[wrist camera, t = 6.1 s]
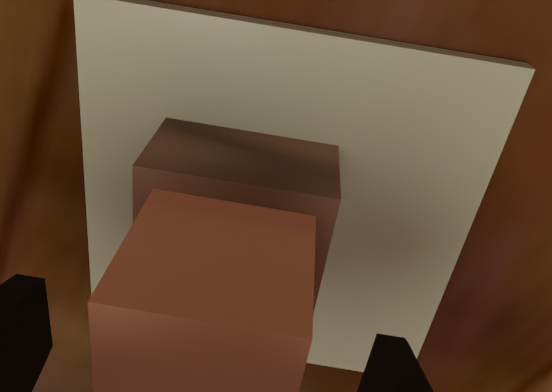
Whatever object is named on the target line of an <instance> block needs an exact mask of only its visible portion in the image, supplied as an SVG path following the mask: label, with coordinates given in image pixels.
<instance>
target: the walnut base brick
mask: <svg viewBox="0 0 552 392" xmlns="http://www.w3.org/2000/svg"><path fill="white" fill-rule="evenodd" d="M153 189H158V190H164V191H170V192H176V193H182V194H188V195H194V196H200V197H206V198H212V199H218V200H224V201H230V202H236V203H242V204H248V205H253V206H259V207H265V208H271V209H277V210H283V211H289V212H295V213H301V214H307V215H313V216H316V236H315V269H314V302H313V313H314V309H315V305H316V301H317V297H318V293H319V289H320V285H321V280H322V276H323V272H324V268H325V264H326V260H327V256H328V252H329V247H330V243H331V239H332V235H333V231H334V227H335V223H336V219H337V215H338V210H339V206H340V202H341V188H340V167H339V146H337V145H331V144H325V143H319V142H312V141H306V140H300V139H294V138H288V137H282V136H276V135H270V134H264V133H258V132H252V131H246V130H240V129H233V128H227V127H221V126H215V125H209V124H203V123H197V122H191V121H185V120H179V119H173V118H167V117H166V118H165V120H164V121H163V123H162V124H161V125H160V127H159V128H158V130H157V131H156V132H155V134H154V135H153V137H152V138H151V140H150V141H149V142H148V144H147V145H146V147H145V148H144V150H143V151H142V152H141V154H140V155H139V157H138V158H137V160H136V161H135V162H134V164H133V165H132V195H133V222H134V221H135V219H136V217H137V216H138V214H139V212H140V210H141V209H142V207H143V205H144V203H145V202H146V200H147V198H148V196H149V195H150V193H151V191H152V190H153Z"/></svg>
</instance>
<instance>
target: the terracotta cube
mask: <svg viewBox="0 0 552 392" xmlns="http://www.w3.org/2000/svg"><path fill="white" fill-rule="evenodd" d="M315 236H316V216H313V215H307V214H301V213H295V212H289V211H283V210H277V209H271V208H265V207H259V206H253V205H248V204H242V203H236V202H230V201H224V200H218V199H212V198H206V197H200V196H194V195H188V194H182V193H176V192H170V191H164V190H158V189H153V190H152V191H151V193H150V195H149V196H148V198H147V200H146V202H145V203H144V205H143V207H142V209H141V210H140V212H139V214H138V216H137V217H136V219H135V221H134V222H133V224H132V226H131V228H130V229H129V231H128V233H127V235H126V236H125V238H124V240H123V241H122V243H121V245H120V247H119V248H118V250H117V252H116V254H115V255H114V257H113V259H112V260H111V262H110V264H109V266H108V267H107V269H106V271H105V273H104V274H103V276H102V278H101V280H100V281H99V283H98V285H97V286H96V288H95V290H94V292H93V293H92V295H91V297H90V299H89V300H88V317H89V334H90V350H91V367H92V383H93V392H299V390H300V386H301V382H302V378H303V374H304V370H305V366H306V362H307V358H308V354H309V351H310V347H311V343H312V334H313V302H314V269H315Z"/></svg>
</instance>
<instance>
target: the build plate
mask: <svg viewBox="0 0 552 392" xmlns="http://www.w3.org/2000/svg"><path fill="white" fill-rule="evenodd" d="M74 15H75V32H76V48H77V65H78V81H79V98H80V114H81V131H82V147H83V164H84V180H85V197H86V214H87V230H88V247H89V263H90V280H91V295H92V293H93V292H94V290H95V288H96V286H97V285H98V283H99V281H100V280H101V278H102V276H103V274H104V273H105V271H106V269H107V267H108V266H109V264H110V262H111V260H112V259H113V257H114V255H115V254H116V252H117V250H118V248H119V247H120V245H121V243H122V241H123V240H124V238H125V236H126V235H127V233H128V231H129V229H130V228H131V226H132V224H133V195H132V165H133V164H134V162H135V161H136V160H137V158H138V157H139V155H140V154H141V152H142V151H143V150H144V148H145V147H146V145H147V144H148V142H149V141H150V140H151V138H152V137H153V135H154V134H155V132H156V131H157V130H158V128H159V127H160V125H161V124H162V123H163V121H164V120H165V118H166V117H167V118H173V119H179V120H185V121H191V122H197V123H203V124H209V125H215V126H221V127H227V128H233V129H240V130H246V131H252V132H258V133H264V134H270V135H276V136H282V137H288V138H294V139H300V140H306V141H312V142H319V143H325V144H331V145H337V146H339V167H340V188H341V202H340V206H339V210H338V215H337V219H336V223H335V227H334V231H333V235H332V239H331V243H330V247H329V252H328V256H327V260H326V264H325V268H324V272H323V276H322V280H321V285H320V289H319V293H318V297H317V301H316V305H315V309H314V313H313V334H312V343H311V347H310V351H309V354H308V358H307V362H306V363H311V364H317V365H323V366H329V367H336V368H342V369H348V370H354V371H360V372H364V370H365V367H366V364H367V361H368V358H369V355H370V352H371V349H372V346H373V343H374V340H375V337H376V334H377V333H378V334H384V335H391V336H397V337H403V338H406V340H407V341H408V343H409V345H410V347H411V349H412V351H413V353H414V355H415V357H416V359H417V357H418V354H419V352H420V350H421V347H422V345H423V342H424V340H425V337H426V335H427V332H428V330H429V328H430V325H431V323H432V320H433V318H434V315H435V313H436V311H437V308H438V306H439V303H440V301H441V298H442V296H443V293H444V291H445V289H446V286H447V284H448V281H449V279H450V276H451V274H452V272H453V269H454V267H455V264H456V262H457V259H458V257H459V254H460V252H461V250H462V247H463V245H464V242H465V240H466V237H467V235H468V232H469V230H470V228H471V225H472V223H473V220H474V218H475V215H476V213H477V211H478V208H479V206H480V203H481V201H482V198H483V196H484V193H485V191H486V189H487V186H488V184H489V181H490V179H491V176H492V174H493V172H494V169H495V167H496V164H497V162H498V159H499V157H500V154H501V152H502V150H503V147H504V145H505V142H506V140H507V137H508V135H509V133H510V130H511V128H512V125H513V123H514V120H515V118H516V115H517V113H518V111H519V108H520V106H521V103H522V101H523V98H524V96H525V93H526V91H527V89H528V86H529V84H530V81H531V79H532V76H533V74H534V72H535V69H534V68H533V67H532V66H531V65H530V64H528V63H526V62H520V61H514V60H508V59H502V58H496V57H490V56H484V55H478V54H471V53H465V52H459V51H453V50H447V49H441V48H435V47H429V46H423V45H417V44H411V43H405V42H399V41H393V40H386V39H380V38H374V37H368V36H362V35H356V34H350V33H344V32H338V31H332V30H326V29H320V28H314V27H308V26H301V25H295V24H289V23H283V22H277V21H271V20H265V19H259V18H253V17H247V16H241V15H235V14H229V13H223V12H216V11H210V10H204V9H198V8H192V7H186V6H180V5H174V4H168V3H162V2H156V1H150V0H74Z"/></svg>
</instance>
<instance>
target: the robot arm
mask: <svg viewBox="0 0 552 392" xmlns="http://www.w3.org/2000/svg"><path fill="white" fill-rule="evenodd" d="M52 346H53V344H52V336H51V327H50V319H49V311H48V302H47V294H46V286H45V279H44V278H38V277H31V276H25V275H19V274H16V275H15V276H13V277H11V278H10V279H8V280H7V281H5V282H4V283H2V284H1V285H0V392H32V390H33V388H34V386H35V384H36V382H37V379H38V377H39V375H40V373H41V371H42V369H43V367H44V364H45V362H46V360H47V357H48V355H49V353H50V351H51V348H52ZM357 392H433V390H432V388H431V386H430V384H429V382H428V380H427V378H426V376H425V375H424V373H423V371H422V369H421V367H420V365H419V363H418V361H417V359H416V357H415V355H414V353H413V351H412V349H411V347H410V345H409V343H408V341H407V340H406V338H403V337H397V336H391V335H384V334H378V333H377V334H376V337H375V340H374V343H373V346H372V349H371V352H370V355H369V358H368V361H367V364H366V367H365V370H364V373H363V376H362V379H361V382H360V385H359V388H358V390H357Z"/></svg>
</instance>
